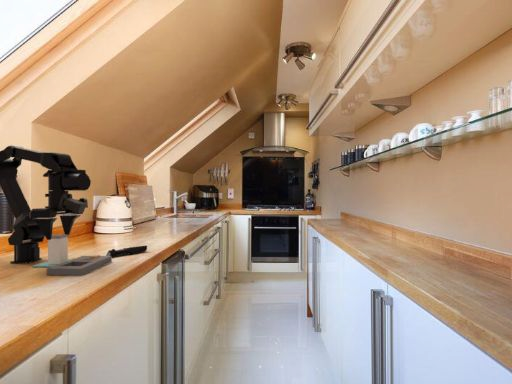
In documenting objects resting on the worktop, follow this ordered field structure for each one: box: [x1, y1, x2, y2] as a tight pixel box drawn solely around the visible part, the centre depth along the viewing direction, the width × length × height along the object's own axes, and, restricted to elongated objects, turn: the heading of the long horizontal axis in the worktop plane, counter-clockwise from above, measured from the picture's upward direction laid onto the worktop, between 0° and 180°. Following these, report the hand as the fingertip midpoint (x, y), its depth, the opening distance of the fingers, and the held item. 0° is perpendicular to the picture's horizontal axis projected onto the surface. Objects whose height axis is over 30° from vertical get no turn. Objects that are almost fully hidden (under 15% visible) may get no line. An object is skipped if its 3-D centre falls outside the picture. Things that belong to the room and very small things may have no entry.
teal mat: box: [31, 258, 73, 269], centre depth 104 cm, size 10×10×1 cm
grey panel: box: [46, 254, 113, 277], centre depth 99 cm, size 10×18×2 cm, turn 179°
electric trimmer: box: [105, 245, 148, 259], centre depth 121 cm, size 4×16×3 cm, turn 138°
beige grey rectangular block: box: [47, 234, 69, 264], centre depth 104 cm, size 4×4×9 cm
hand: (58, 237), depth 104 cm, fingers open, 9 cm apart
